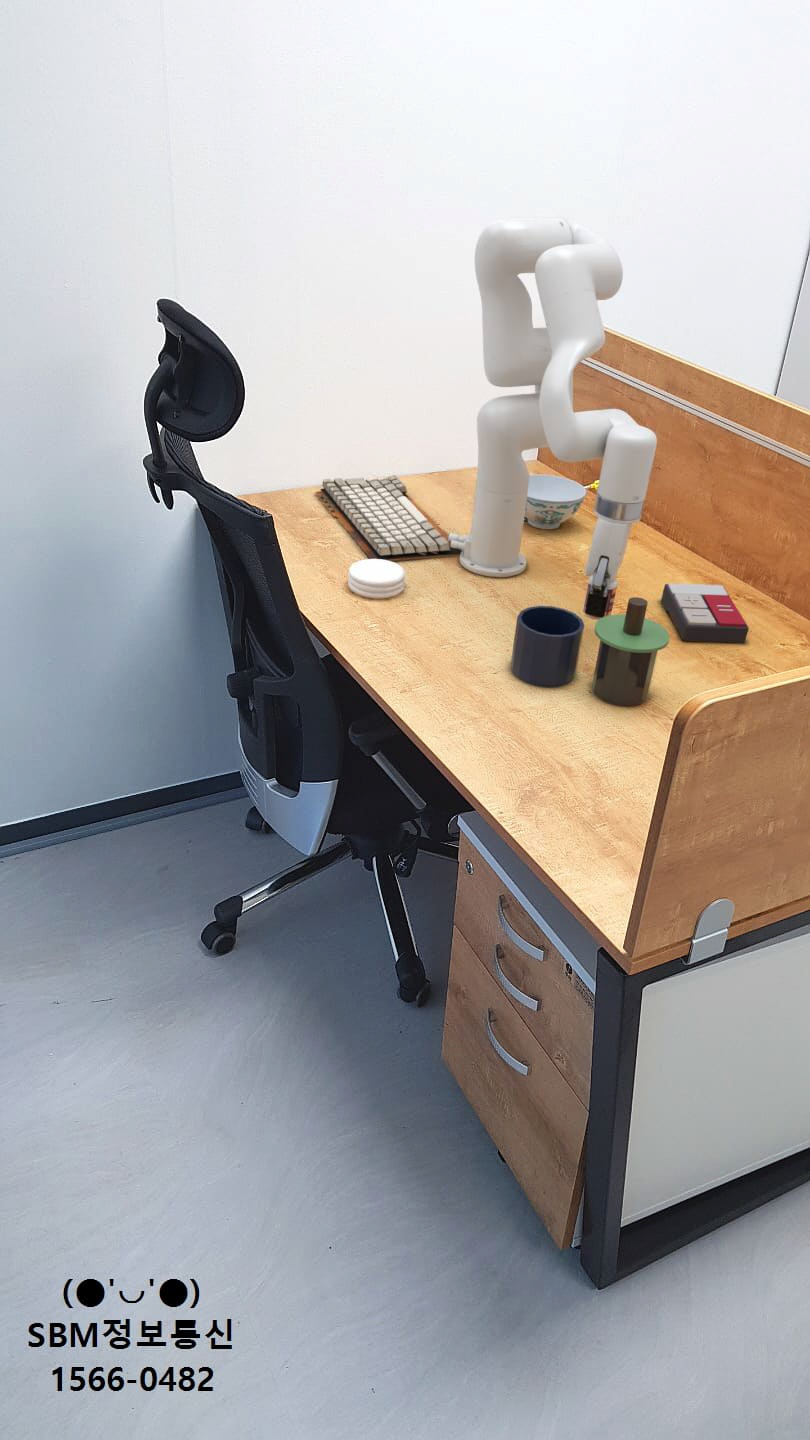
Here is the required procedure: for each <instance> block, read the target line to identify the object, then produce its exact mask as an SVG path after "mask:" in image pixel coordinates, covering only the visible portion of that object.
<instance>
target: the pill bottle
mask: <svg viewBox="0 0 810 1440" xmlns="http://www.w3.org/2000/svg"><path fill="white" fill-rule="evenodd" d="M618 574H619V571H618V572H617V574H616V576H615V578H614V580H612V581H610V584H609V589H608V593H607V595H609V597H608V601H607V606H606V611H605V615H604V617H605V616H609V615H612V612H613V608H614V603H615V599H616V593H617V589H618V581H617V578H618ZM593 575H594V572H593V574H592V575H591V576H590V577H589V578H588V580H587V585H586V591H585V595H584V602H583V606H582V614H583V616H584V617H586V618H588V619H590V620H594V621H598V620H599V619H601V617H597V616H592V615H588V614H586V613H585V609H586V604H587V599H588V594H589V591H590V588H591V584H592V580H593ZM605 576H606V577H608V576H609V574H606V573H605ZM603 585H604V586H605V585H606V581H603Z"/></svg>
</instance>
